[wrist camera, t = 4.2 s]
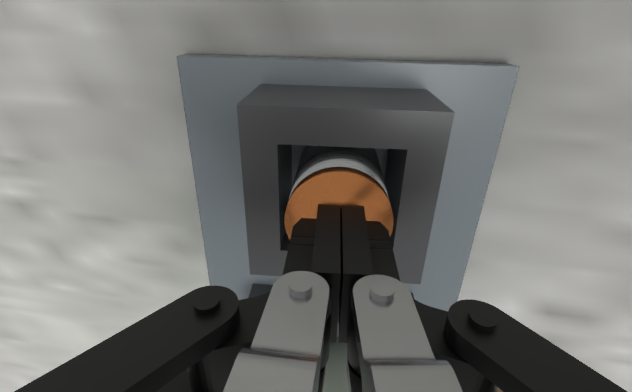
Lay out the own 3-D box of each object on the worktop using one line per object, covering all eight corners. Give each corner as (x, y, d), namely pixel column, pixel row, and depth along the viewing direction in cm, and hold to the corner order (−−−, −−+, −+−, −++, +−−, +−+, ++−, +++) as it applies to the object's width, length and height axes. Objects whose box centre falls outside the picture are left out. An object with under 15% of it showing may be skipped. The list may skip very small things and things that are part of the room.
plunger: (299, 128, 15) (283, 171, 11) (383, 131, 15) (400, 176, 11) (299, 201, 17) (285, 264, 13) (375, 205, 17) (387, 270, 12)
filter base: (185, 53, 16) (125, 68, 11) (508, 63, 15) (579, 83, 11) (233, 405, 27) (212, 482, 23) (418, 419, 26) (434, 501, 22)
